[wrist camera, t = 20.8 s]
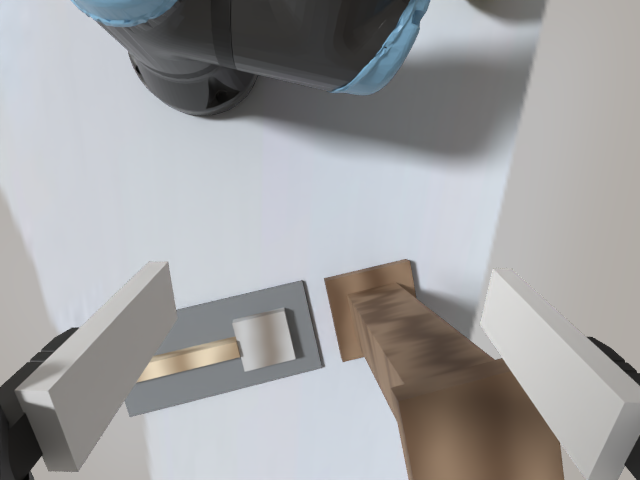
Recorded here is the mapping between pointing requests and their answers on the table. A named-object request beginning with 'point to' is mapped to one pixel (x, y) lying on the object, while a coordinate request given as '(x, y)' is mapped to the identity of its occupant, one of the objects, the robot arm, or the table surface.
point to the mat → (216, 325)
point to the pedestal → (439, 384)
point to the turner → (233, 347)
